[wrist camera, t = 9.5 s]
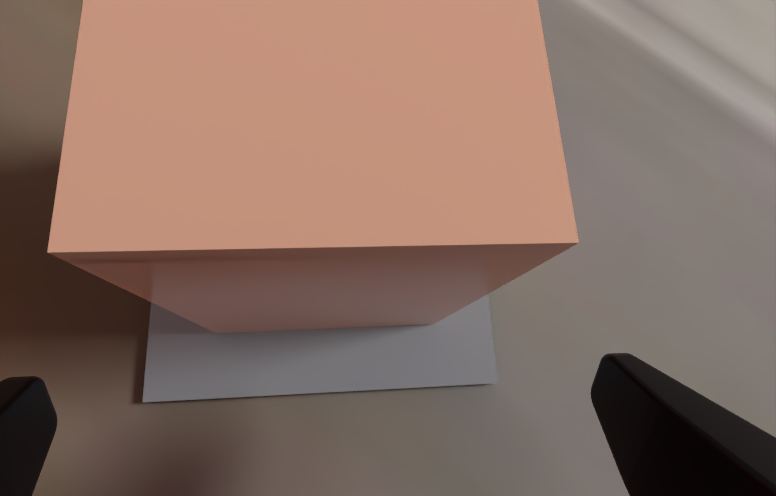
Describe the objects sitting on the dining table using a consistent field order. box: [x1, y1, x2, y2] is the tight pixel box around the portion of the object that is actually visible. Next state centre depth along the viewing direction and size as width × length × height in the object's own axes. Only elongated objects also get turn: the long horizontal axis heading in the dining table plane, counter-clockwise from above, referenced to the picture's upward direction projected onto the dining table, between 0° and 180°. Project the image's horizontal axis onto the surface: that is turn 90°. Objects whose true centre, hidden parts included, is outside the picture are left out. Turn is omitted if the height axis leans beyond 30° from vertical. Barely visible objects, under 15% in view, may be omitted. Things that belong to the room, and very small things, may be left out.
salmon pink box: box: [47, 0, 579, 333], centre depth 12 cm, size 7×7×10 cm
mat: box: [142, 294, 498, 402], centre depth 17 cm, size 11×11×1 cm
